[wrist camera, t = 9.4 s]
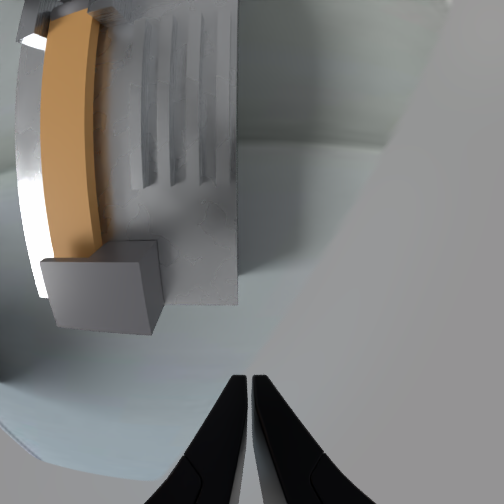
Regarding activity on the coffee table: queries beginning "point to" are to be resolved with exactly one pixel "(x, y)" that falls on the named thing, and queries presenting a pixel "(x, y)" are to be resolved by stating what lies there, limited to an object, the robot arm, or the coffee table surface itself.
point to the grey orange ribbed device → (149, 137)
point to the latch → (107, 288)
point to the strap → (70, 131)
